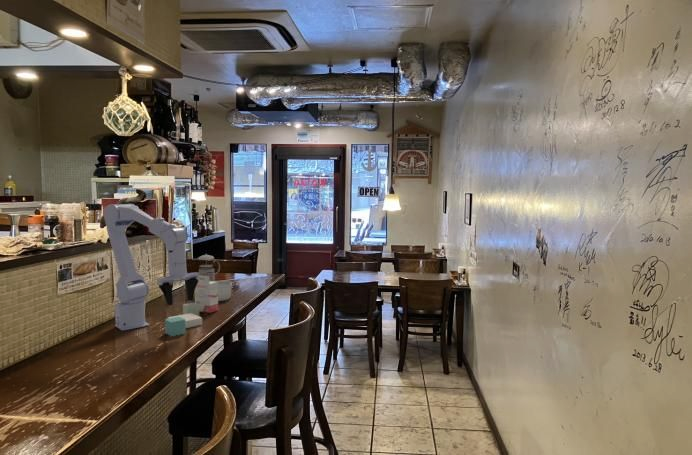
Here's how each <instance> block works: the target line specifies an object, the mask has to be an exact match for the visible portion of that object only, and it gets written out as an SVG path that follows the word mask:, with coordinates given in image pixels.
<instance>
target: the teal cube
mask: <svg viewBox="0 0 692 455" xmlns="http://www.w3.org/2000/svg"><path fill="white" fill-rule="evenodd" d="M164 333H166V334H165V335H167V334H168V335H167V336H169V335H170V336H169V337H171V336H173V337H176V335H177V336H181V334H182V335H186V334H185V333H186V328H185V319H183V318H181V317H175V318H169V319H168V318H165V319H164Z"/></svg>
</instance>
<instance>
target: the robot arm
mask: <svg viewBox="0 0 692 455" xmlns="http://www.w3.org/2000/svg"><path fill="white" fill-rule="evenodd" d="M102 215H103V219H104V222H105V226H106V231H107V235H108V237H109V238H108V239H109V241H110V246H111V249H112V252H113V256H114V258H115V261H116V265H117V269H118V273H119V276H120V278H119V279H118V281H117V282H116V284H115V287H116V297H117V300H119V301H120V303H117V304H116V305H115V307H114V317H115V325H114V327H115V328H117V329H119V330H120V331H127V330H134V329H137V328H138V329H139V328H142V327H143V328H144V327H148V326H150V323H148V322H147V321H146V311H145V310H146V308H145V300H147V297H148V295H149V293H150V287H149V285H148V283H147V282H146V280H145V277H144V276H143V275H141V274H139V273H138V272H137V269H136V266H135V262H134V259H133V254H132V252H131V248H130V246H129V242H128V239H127V235H126V230H127V228H129V227H130V226H131V225H132V224H133V223H134V221H135V222H137V223H138V224H141V225H143V226H145V227H147V228H148V231H149V232H150V233H151V234H153V235H154V236H157V237H158V238H160V239H161V240H162V242H163V244H165V250H166V252H167V262H168V276H164V277H160V278H156V285H158V287H159V289H160V291H161V292H162V293H163V296H164V298H165V301H166V304H167V305H168V306H172V305H173V287H174V285H172V283H177V282H182V281H184V284H185V287H186V293H187V300H188V301H193V300H194V297H195V288H196V286H197V284H198V279H196V278H199V272H196V271H195V272H190V273H188V270H187V267H188V266H187V256H186V244H185V243H186V242H187V241H188V238H189V234H188V231H187V230H186V228H184V227H183V226H178V227H177V226H175V224H174V223H169V222H167V220H165V218H164V217H155V218H154V217H152V216H151V215H149V214H148V213H146V212H144V211H143V210H142V209H140V208H139V206H138V205H135V204H133V203H124V204H123V203H121V204H119V203H118V204H107V205H106V207H105V209H104V211H103V213H102Z"/></svg>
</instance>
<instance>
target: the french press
mask: <svg viewBox="0 0 692 455" xmlns="http://www.w3.org/2000/svg"><path fill="white" fill-rule="evenodd" d="M203 239H205V240H207V239H208V236H207V235H204V237H203ZM197 259H198V260H199V261H205V264H201V265H199V266H198V267H199V268H198V273H199V275H202V276H209V281H216V275H217V274H218V273H219V272H220V271H221V265H220V262H219V261H217V260H216V259H215V257H214V256H213V255H209V254H203V255H201V256H199V257H198V258H197ZM211 260H213V261H212V262H213V264H207V262H208V261H211ZM215 262H217V264H218V269H217V272H215V268H214V264H215ZM200 280H205V279H203V278H200Z"/></svg>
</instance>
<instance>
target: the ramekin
mask: <svg viewBox="0 0 692 455" xmlns="http://www.w3.org/2000/svg"><path fill="white" fill-rule="evenodd" d="M211 282H218V302H222V301H227V300H229V299H230V298H231V296H232V295H231V294H232V287H233V283H232V281H227V280H215V281H211Z"/></svg>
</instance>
